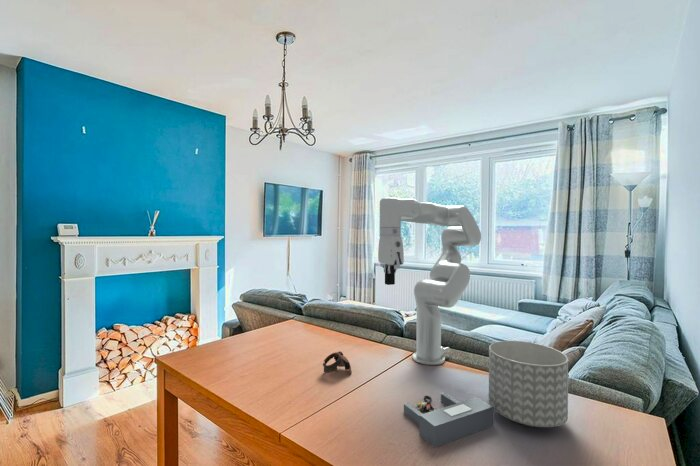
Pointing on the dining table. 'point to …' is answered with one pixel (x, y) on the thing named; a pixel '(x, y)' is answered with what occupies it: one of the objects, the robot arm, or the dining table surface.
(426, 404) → the composite cable
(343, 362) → the pottery mug
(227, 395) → the dining table surface
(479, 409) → the dock
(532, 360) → the planter
